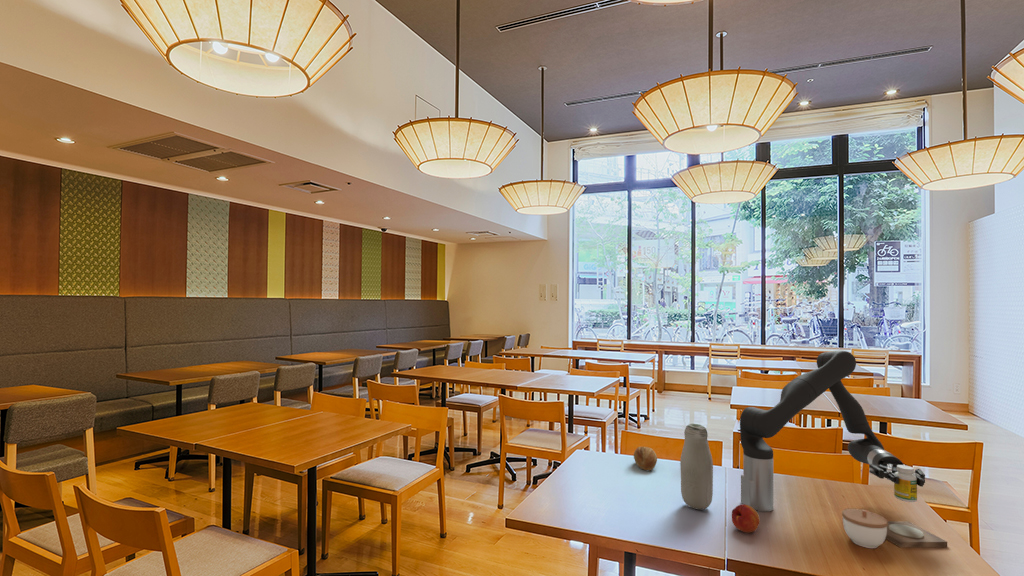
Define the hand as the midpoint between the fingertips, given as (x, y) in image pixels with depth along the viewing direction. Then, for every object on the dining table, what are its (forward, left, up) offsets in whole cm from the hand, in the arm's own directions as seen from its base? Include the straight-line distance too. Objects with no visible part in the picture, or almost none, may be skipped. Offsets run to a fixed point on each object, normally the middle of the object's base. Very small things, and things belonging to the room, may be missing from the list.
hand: (909, 481), depth 143 cm
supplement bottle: (+1, +2, -6) cm, 7 cm away
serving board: (+1, +3, -17) cm, 17 cm away
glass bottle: (-54, +23, -17) cm, 62 cm away
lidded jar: (-15, -1, -17) cm, 23 cm away
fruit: (-46, +6, -17) cm, 50 cm away
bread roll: (-59, +64, -18) cm, 89 cm away
